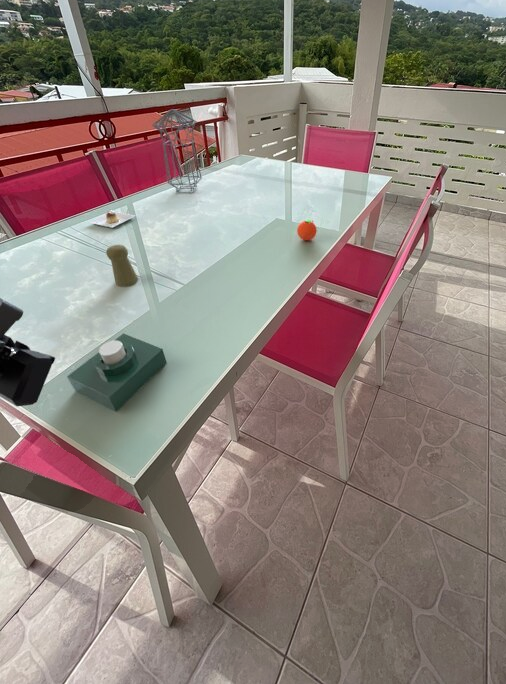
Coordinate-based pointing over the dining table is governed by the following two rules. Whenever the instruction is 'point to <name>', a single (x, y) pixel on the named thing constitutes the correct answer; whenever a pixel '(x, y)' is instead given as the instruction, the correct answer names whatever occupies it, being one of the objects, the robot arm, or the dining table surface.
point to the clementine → (306, 230)
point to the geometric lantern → (178, 115)
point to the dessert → (112, 219)
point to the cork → (121, 266)
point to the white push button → (112, 352)
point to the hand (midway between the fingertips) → (52, 359)
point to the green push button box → (118, 373)
